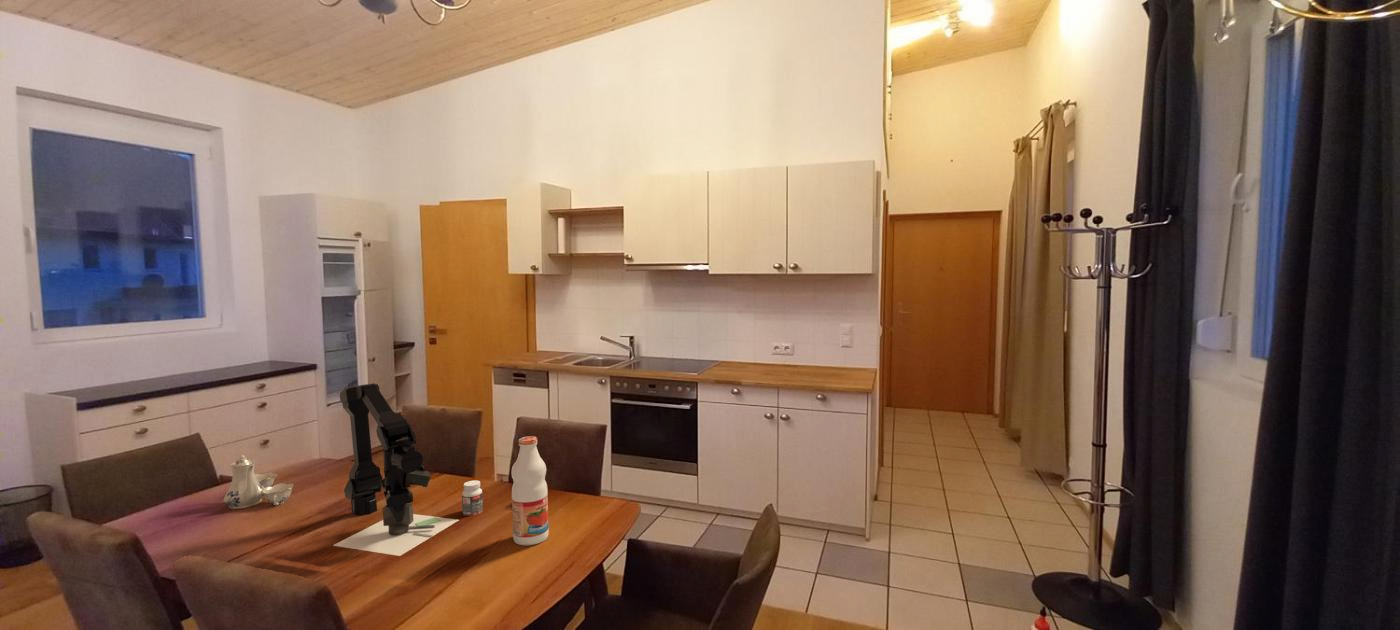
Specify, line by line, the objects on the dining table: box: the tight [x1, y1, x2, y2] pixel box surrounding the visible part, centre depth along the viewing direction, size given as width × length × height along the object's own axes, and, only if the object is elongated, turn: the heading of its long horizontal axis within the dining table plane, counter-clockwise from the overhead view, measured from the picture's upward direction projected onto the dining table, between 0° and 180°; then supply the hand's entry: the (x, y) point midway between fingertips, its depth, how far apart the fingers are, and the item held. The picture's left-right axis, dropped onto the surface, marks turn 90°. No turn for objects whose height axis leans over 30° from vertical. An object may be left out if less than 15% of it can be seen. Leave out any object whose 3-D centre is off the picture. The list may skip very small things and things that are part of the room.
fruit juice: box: [511, 435, 550, 546], centre depth 153 cm, size 9×9×28 cm
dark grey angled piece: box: [382, 503, 435, 535], centre depth 157 cm, size 13×5×7 cm, turn 96°
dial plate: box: [333, 513, 460, 557], centre depth 157 cm, size 22×22×1 cm
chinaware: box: [223, 454, 295, 510], centre depth 183 cm, size 28×17×17 cm, turn 57°
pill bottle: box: [461, 480, 484, 517], centre depth 170 cm, size 6×6×10 cm
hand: (398, 519), depth 157 cm, fingers closed on dark grey angled piece, 4 cm apart
